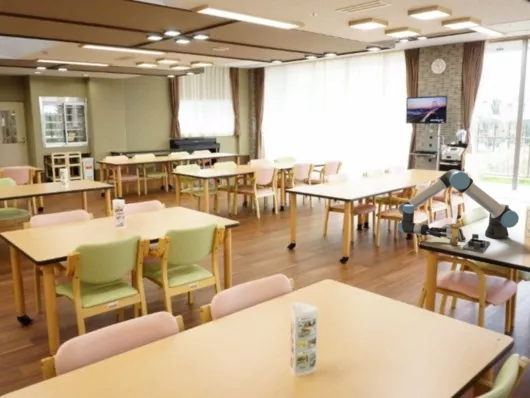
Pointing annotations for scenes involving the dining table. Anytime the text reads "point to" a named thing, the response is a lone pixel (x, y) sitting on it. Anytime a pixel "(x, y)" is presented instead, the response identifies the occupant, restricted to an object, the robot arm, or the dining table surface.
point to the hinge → (458, 234)
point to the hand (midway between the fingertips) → (454, 234)
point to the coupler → (454, 234)
